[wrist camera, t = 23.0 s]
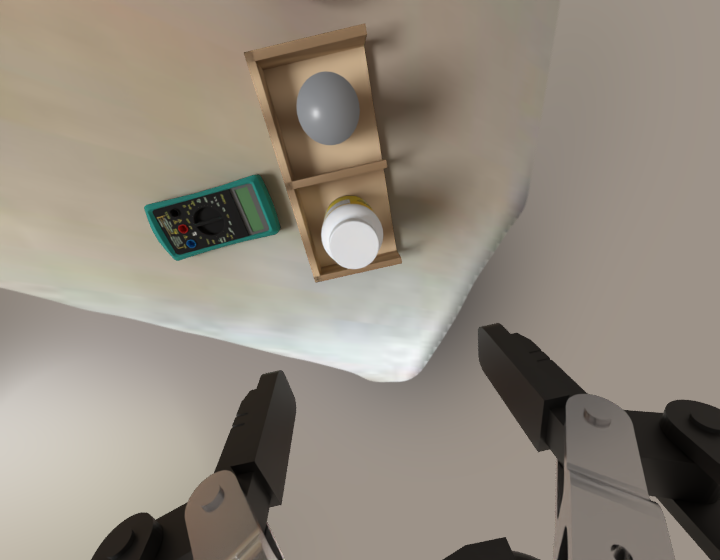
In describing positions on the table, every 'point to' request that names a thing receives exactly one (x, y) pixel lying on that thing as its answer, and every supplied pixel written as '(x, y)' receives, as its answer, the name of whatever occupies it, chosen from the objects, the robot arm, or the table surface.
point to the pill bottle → (351, 232)
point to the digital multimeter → (214, 218)
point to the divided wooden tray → (318, 161)
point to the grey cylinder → (328, 108)
